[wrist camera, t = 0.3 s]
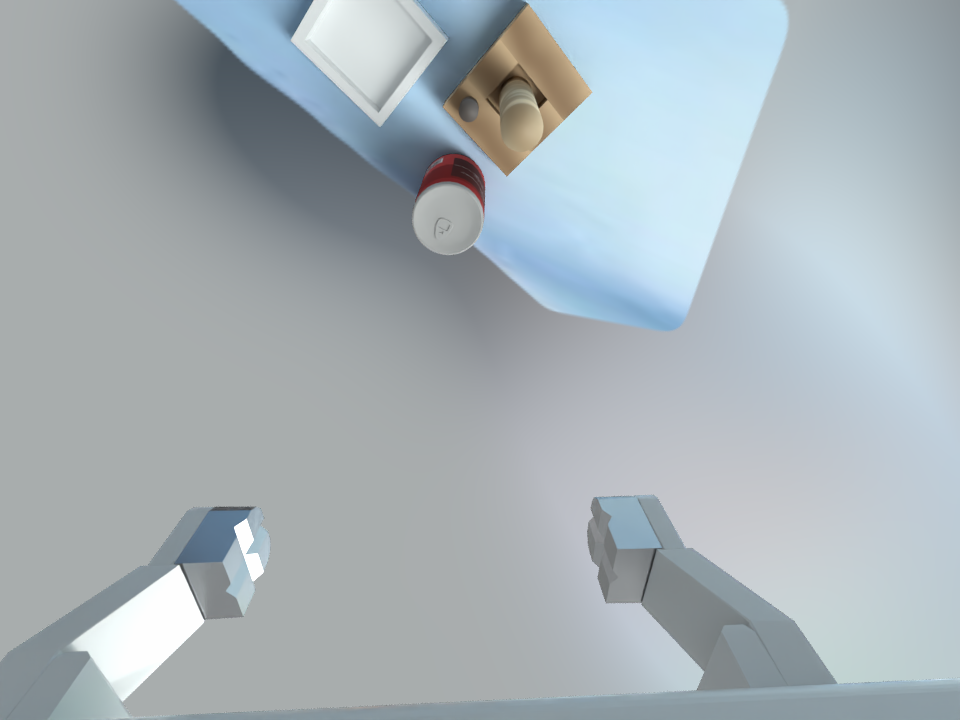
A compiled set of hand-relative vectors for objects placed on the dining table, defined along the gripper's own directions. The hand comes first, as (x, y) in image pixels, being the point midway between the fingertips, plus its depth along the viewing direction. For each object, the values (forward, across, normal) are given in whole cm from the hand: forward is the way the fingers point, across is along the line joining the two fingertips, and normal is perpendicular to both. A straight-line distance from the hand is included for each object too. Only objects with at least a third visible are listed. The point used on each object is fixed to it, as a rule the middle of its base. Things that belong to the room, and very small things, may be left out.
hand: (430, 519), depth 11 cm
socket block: (+48, -7, -13) cm, 50 cm away
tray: (+48, +8, -17) cm, 52 cm away
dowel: (+47, -7, -12) cm, 49 cm away
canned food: (+51, 0, -3) cm, 51 cm away
